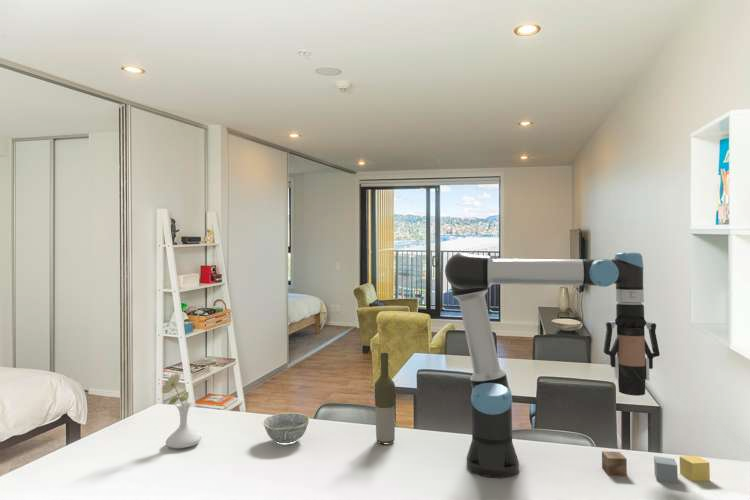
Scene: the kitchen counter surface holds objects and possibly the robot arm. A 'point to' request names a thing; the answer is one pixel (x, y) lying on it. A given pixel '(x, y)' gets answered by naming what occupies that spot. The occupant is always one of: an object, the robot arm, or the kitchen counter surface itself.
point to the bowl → (286, 426)
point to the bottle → (385, 404)
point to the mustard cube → (694, 468)
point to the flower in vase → (184, 433)
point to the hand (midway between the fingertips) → (631, 378)
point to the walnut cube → (614, 463)
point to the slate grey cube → (665, 469)
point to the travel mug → (631, 360)
